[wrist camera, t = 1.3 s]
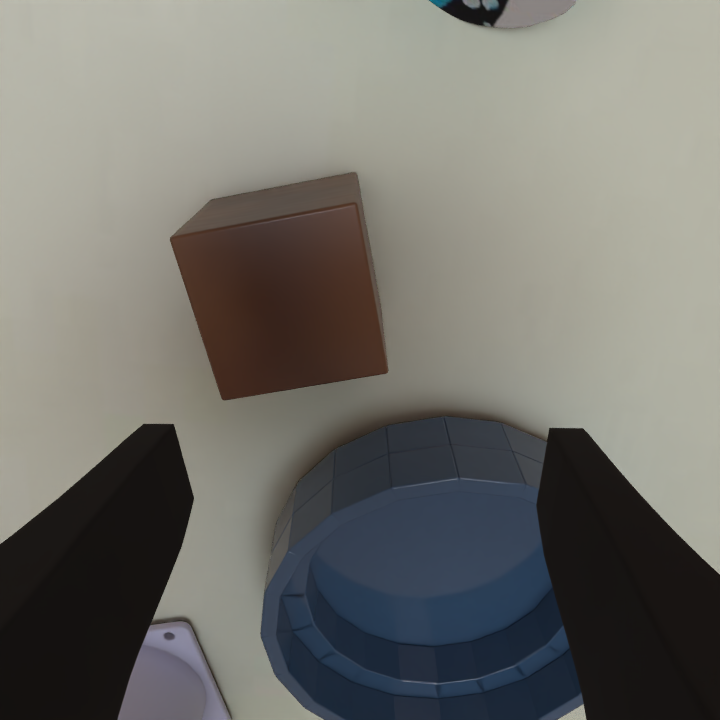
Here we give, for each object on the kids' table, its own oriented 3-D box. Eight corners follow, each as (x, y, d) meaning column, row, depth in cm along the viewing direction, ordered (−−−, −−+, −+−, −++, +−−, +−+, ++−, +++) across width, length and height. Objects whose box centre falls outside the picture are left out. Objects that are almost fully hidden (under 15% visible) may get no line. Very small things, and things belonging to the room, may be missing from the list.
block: (248, 334, 22) (221, 402, 18) (209, 199, 20) (167, 237, 16) (382, 311, 22) (389, 374, 17) (356, 171, 20) (357, 201, 15)
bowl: (313, 673, 30) (307, 766, 26) (238, 440, 24) (215, 514, 20) (599, 635, 29) (638, 726, 25) (595, 382, 23) (645, 448, 19)
